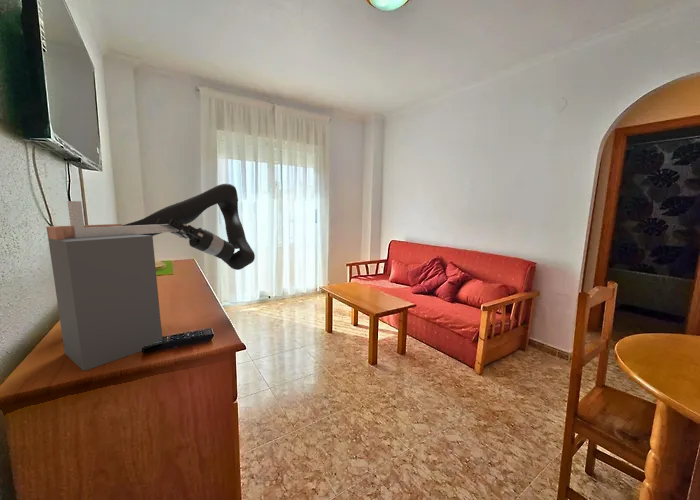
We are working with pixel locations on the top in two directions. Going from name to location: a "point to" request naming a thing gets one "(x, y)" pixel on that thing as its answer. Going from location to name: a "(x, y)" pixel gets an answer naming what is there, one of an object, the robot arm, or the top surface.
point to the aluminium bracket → (82, 232)
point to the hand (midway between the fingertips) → (163, 221)
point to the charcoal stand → (104, 294)
